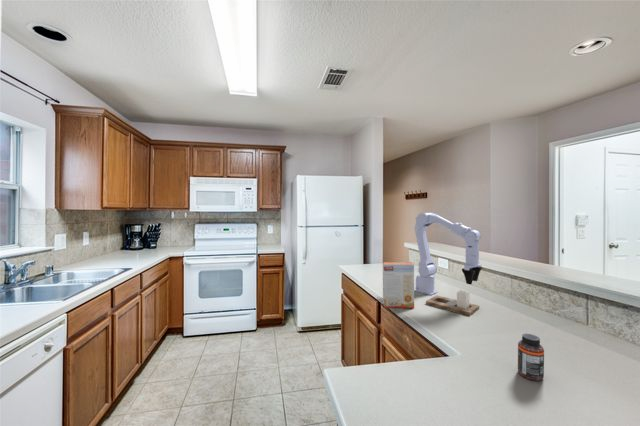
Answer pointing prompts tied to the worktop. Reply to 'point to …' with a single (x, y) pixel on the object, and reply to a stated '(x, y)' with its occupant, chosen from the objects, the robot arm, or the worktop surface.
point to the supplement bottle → (531, 357)
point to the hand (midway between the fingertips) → (471, 282)
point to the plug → (463, 299)
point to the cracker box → (398, 284)
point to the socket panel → (451, 305)
